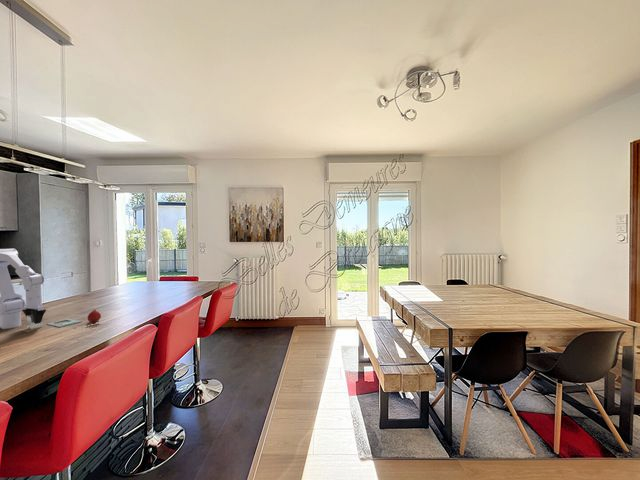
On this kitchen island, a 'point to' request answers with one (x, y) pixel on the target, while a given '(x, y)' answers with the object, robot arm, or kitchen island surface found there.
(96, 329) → the kitchen island surface
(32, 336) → the kitchen island surface
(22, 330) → the brown square plate
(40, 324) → the steel peg
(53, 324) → the hole plate
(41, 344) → the kitchen island surface
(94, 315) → the onion
